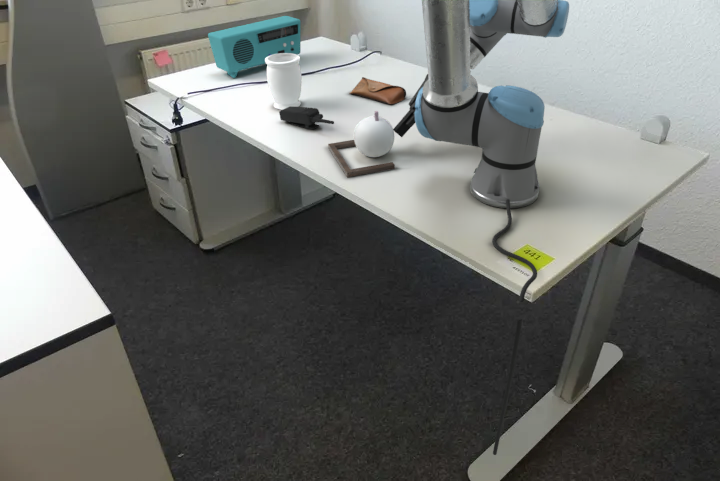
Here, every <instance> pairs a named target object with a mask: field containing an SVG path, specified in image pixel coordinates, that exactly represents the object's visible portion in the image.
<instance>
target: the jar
mask: <svg viewBox="0 0 720 481" xmlns="http://www.w3.org/2000/svg"><path fill="white" fill-rule="evenodd" d="M300 61H301V57H300V55H299V54H298V55H296V54H292V53H280V54H274V55H270V56H268V57H266V58H265V65H267V66H266V80H267V85H268V88H269V92H270V95H271V98H272V99H273V101H274V102H273V108H275V109H277V110H279V111H281V110H283V109H285V108H287V107H290V106H291V107H301V100H300V97H301V94H302V83H303V81H302V80H303V77H302V68H301V66H300Z"/></svg>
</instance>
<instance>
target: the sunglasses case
mask: <svg viewBox="0 0 720 481" xmlns="http://www.w3.org/2000/svg"><path fill="white" fill-rule="evenodd" d="M348 93H349V95H353V96H358V97H362V98H365V99H368V100H372V101H375V102H378V103H382V104H387V105H395V104H398V103H401V102H402V101H405V100H406V97H407V90H406V89H405V88H404V87H403V86H399V85H392V84H389V83H386V82H382V81H378V80H374V79H370V78H366V77H364V76H362V77H361V79H360V81H359V82H358V83H357V84H356V85H355V87H354V88H352V90H351V91H350V92H348Z"/></svg>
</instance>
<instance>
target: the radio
mask: <svg viewBox="0 0 720 481" xmlns="http://www.w3.org/2000/svg"><path fill="white" fill-rule="evenodd" d="M207 37H208V40H209V45H210V48H211V51H212V55H213V58H214V62H215V66H216V67H217V69H220V70H222V71H225V72H226V73H227V75H228V76H230V77H231V78H232V79H236V78H237V75H238V72H240V71H244V70H247V69H251V68H254V67H255V68H256V67H258V66H262V65H266V63H265V58H266V57H268V56H270V55H274V54H280V53H292V54H296V55H298V56H299V55H300V54H301V20H300V19H299V18H295V17H292V16H288V15H283V16H279V17H274V18H269V19H264V20H261V21H255V22H251V23H248V24H243V25H238V26H233V27H229V28H225V29H221V30H216V31H211V32H208V33H207Z"/></svg>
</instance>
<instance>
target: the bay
mask: <svg viewBox="0 0 720 481" xmlns="http://www.w3.org/2000/svg"><path fill="white" fill-rule="evenodd" d="M327 147H328V149H329V151H330V153H331V154H332V156H333V157H334V159H335V161H336V162H337V164H338V165H339V167H340V168H341V170H342V171H343V173H344V174H345V177H347V178H352V177H357V176H365V175H369V174H375V173H380V172H386V171H390V170H395V169H396V164H395V163H394V162H393V161H390V162H385V163H380V164H373V165H367V166H362V167H356V168H351V167H350V166H349V165H348V164H347V162H346V160H345V159H344V157H343V156H342V154H341V152H340V151H339V149H345V148H352V147H356V145H355V142H354V139H350V140H343V141H336V142H331V143H328V144H327Z"/></svg>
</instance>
